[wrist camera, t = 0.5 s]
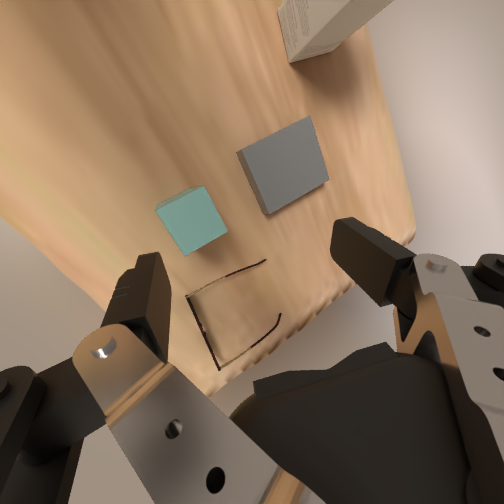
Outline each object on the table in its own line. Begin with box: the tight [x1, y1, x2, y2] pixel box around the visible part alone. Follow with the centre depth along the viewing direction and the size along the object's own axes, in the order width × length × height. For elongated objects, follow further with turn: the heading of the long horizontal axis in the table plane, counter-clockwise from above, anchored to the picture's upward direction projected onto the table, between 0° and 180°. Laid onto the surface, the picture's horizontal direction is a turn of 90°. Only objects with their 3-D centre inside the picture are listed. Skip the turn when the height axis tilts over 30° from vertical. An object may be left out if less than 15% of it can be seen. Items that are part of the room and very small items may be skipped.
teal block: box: [155, 186, 228, 256], centre depth 27 cm, size 5×5×12 cm
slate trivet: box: [236, 116, 329, 215], centre depth 35 cm, size 10×12×2 cm
